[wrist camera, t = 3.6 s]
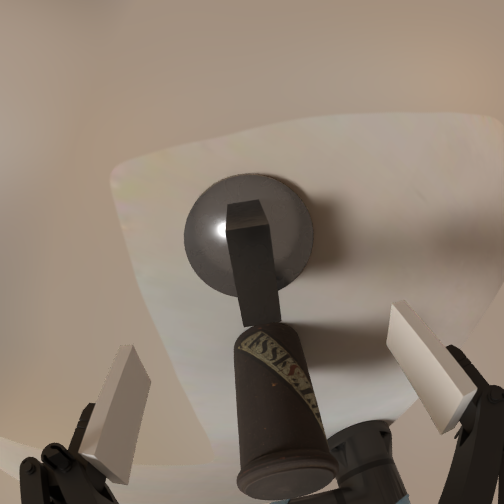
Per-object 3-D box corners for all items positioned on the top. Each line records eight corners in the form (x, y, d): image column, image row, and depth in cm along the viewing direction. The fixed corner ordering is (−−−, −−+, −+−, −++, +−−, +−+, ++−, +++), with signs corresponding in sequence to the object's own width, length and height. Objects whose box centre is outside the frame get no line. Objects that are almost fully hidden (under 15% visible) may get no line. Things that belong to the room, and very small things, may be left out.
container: (314, 341, 36) (361, 476, 17) (266, 380, 38) (284, 509, 19) (266, 307, 33) (296, 463, 15) (217, 351, 36) (213, 496, 17)
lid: (303, 165, 28) (336, 178, 19) (313, 280, 33) (341, 333, 23) (174, 185, 28) (146, 208, 19) (200, 298, 33) (190, 357, 23)
